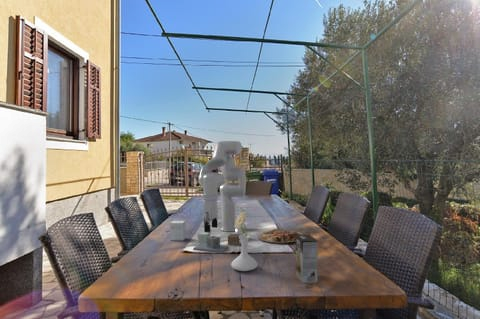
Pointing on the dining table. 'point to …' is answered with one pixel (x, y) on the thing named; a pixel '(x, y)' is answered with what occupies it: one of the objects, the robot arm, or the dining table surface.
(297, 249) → the coffee box
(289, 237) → the rice dish
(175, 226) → the small box
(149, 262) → the dining table surface
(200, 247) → the slate mat
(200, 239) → the sage block
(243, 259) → the flower in vase
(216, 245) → the dice cube
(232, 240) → the walnut block
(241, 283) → the dining table surface
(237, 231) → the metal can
